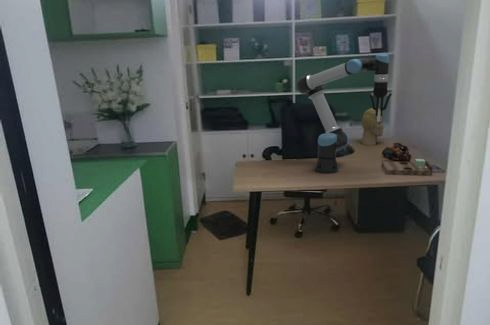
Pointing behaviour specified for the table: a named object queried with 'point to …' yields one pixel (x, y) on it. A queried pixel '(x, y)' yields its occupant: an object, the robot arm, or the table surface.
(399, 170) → the board
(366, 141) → the bust
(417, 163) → the block
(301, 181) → the table surface
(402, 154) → the character figurine
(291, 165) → the table surface
